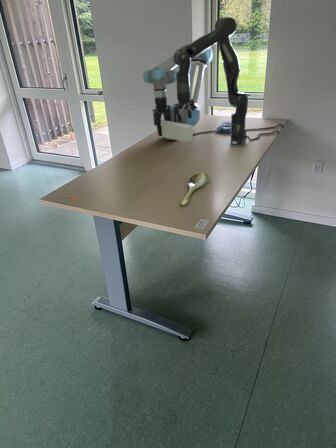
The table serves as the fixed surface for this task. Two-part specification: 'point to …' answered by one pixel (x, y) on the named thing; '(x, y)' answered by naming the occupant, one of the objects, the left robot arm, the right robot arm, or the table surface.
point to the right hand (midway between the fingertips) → (184, 119)
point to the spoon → (195, 184)
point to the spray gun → (225, 127)
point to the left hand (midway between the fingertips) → (163, 134)
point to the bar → (176, 131)
